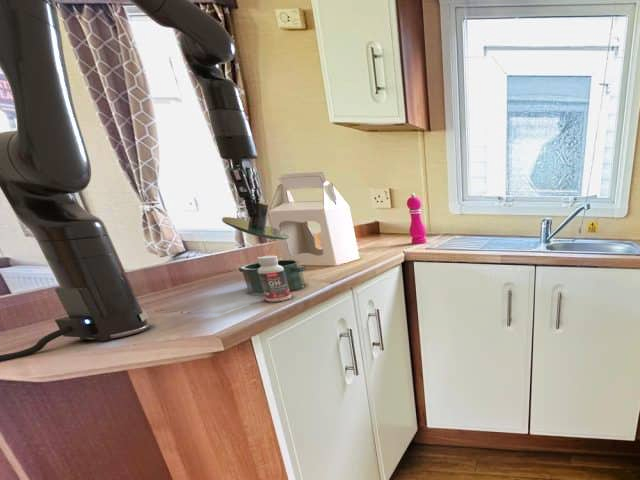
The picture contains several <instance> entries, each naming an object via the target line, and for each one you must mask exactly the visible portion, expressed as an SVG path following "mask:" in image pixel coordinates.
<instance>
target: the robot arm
mask: <svg viewBox="0 0 640 480" xmlns="http://www.w3.org/2000/svg"><path fill="white" fill-rule="evenodd" d="M55 1H56V0H0V70H1V72H2V73H3V75H4V76H5V79H6V80H7V83H8V85H9V88H10V91H11V95H12V100H13V107H14V111H15V117H16V130H10V131H9V130H8V131H2V132H0V190H1V192H2V194H3V195H4V197H5V199H6V200H7V202H8V204H9V206H10V207H11V209H12V211H13V212H14V214H15V216H16V217H17V219H18V220H19V221H20V222H21V223H22V224H23V225H24V226H25V227H26V228H27V229H28V230H29V231H30V232H31V234H32V236H33V237H34V239H35V241H36V242H37V244H38V247H39V249H40V250H41V253H42V254H43V256H44V258H45V260H46V262H47V264H48V266H49V268H50V270H51V272H52V275H54V278H55V280H56V282H57V284H58V286H56V287H55V288H54V291H55V293H56V295H57V297H58V299H59V301H60V303H61V305H62V307H63V309H64V311H65V313H66V314H67V316H64V317H59V318H56V319H54V322H55V323H56V325H57V327H58V329H57V330H55V331H53V332H51V333H49V334H47V335H45V336H43V337H41V338H40V339H39V340H38V341H37V343H35V344H34V345H33V346H30V347H28V348H26V349H22V350H19V351H14V352H10V353H5V354H0V362H4V361H9V360H15V359H18V358H19V359H20V358H21V357H22V358H23V357H27V356H30V355H32V354H34V353H35V354H36V353H38V352H40V351H42V350H43V349H44V348H45V346H46V345H47V344H49V343H50V342H51V341H53V340H55V339H57V338H59V337H66V338H79V340H80V341H96V342H97V341H98V342H106V341H109V340H113V339H119V338H123V337H128V336H131V335H135V334H139V333H141V332H144V331H146V330H148V329H149V328H150V327H151V326H150V324H149V322H148V321H147V320H148V318H149V316H148V313H147V311H146V310H144V311H143V309H142V307H141V304H140V302H139V300H138V298H137V295H136V293H135V291H134V289H133V286H132V284H131V281H130V279H129V278H128V275H127V273H126V271H125V268H124V266H123V264H122V261H121V259H120V257H119V253H117V250H116V248H115V245H114V243H113V241H112V238H111V236H110V234H109V231H108V230H107V229H108V228H107V227H106V225H105V223H104V221H103V220H102V219H101V218H99V217H97V216H96V215H93V214H92V213H90V212H88V211H87V210H86V209H84V208H83V207H82V206H81V204H80V203H79V201H78V199H77V198H76V195H75V194H77V193H80V192H83V191H84V190H86V188H87V187H88V186H89V185H90V182H91V180H92V166H91V160H90V157H89V153H88V150H87V149H88V148H87V146H86V143H85V140H84V135H83V133H82V130H81V127H80V124H79V120H78V115H77V113H76V109H75V105H74V101H73V96H72V91H71V84H70V79H69V74H68V69H67V65H66V60H65V53H64V47H63V38H62V31H61V26H60V21H59V16H58V15H59V14H58V9H57V4H56V2H55ZM128 1H129V2H130V3H131V4H133V5H134V6H135V7H136V8H138V9H139V10H140V11H141V12H142V13H144V15H146V16H147V17H148V18H149V19H151V20H152V21H153V22H154V23H156V24H157V25H159V26H160V27H164V28H168V29H173V30H176V31H178V32H179V45H180V49H181V52H182V54H183V57H184V59H185V61H186V63H187V65H188V67H189V69H190V71H191V73H192V75H193V77H194V78H195V80H196V82H197V84H198V85H199V87H200V89H201V92H202V96H203V99H204V103H205V106H206V108H207V112H208V118H209V123H210V127H211V130H212V133H213V136H214V139H215V143H216V146H217V150H218V152H219V157H220V158H221V159H222V160H228V161H231V165H232V168H231V169H229V174H230V176H231V179H232V182H233V185H234V186H235V189H236V192H237V194H238V196H239V198H241V199H242V201H244V205H245V207H246V208H245V209H246V212H247V216H248V218H249V217H251V218H254V217H259V216H260V215H259V211H258V208H257V204H256V201H260V202H261V197H262V192H261V186H260V181H259V177H258V172H257V171H256V170H255V167H253V166H252V163H251V162H250V160H256V159H258V157H259V155H258V151H257V147H256V144H255V141H254V136H253V133H252V130H251V129H252V128H251V127H250V126H251V125H250V122H249V120H248V117H247V114H246V112H245V108H244V105H243V100H242V98H241V97H242V96H241V93H240V91H239V88H238V85H237V84H236V82H234V81H233V80H231V79H229V78H225V76H224V74H223V72H222V70H221V68H220V65H224V64H227V63H230V62H231V61H233V60H234V58H235V56H236V46H235V43H234V40H233V39H232V37H231V35H230V33H229V32H228V31H227V30H226V28H225V27H224V26H223V25H222V24H221V23H220V22H219V20H217V19H215V18H214V16H212V15H211V14H210V13H208V12H206V11H205V10H203V9H202V8H201V7H199V6H197V4H195V3H194V2H192V1H191V0H128ZM255 200H256V201H255Z"/></svg>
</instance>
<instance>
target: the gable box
mask: <svg viewBox="0 0 640 480" xmlns="http://www.w3.org/2000/svg"><path fill="white" fill-rule="evenodd" d="M278 180H279V182H280V184H279V185H277V186H276V187H277V188H276V190H275V194H274V196H273V199H272V201H271V204H270V208H269V209H268V213H269V217H270V220H271V223H272V228H275V229H277V230H280V231H282V232H284V233H286V234H287V235H289V239H286V240H282V239H276V242H277V245H278V250H279V253H280V257H281V260H298V261H299V262H300V266H308V267H309V266H311V267H312V266H314V267H316V266H319V267H337V266H341V265H344V264H347V263H350V262H354V261H358V260H360V253H359V248H358V243H357V237H356V233H355V228H354V227H355V226H354V223H353V218H352V213H351V207H350V205H349V204H348V203H347V201H346V200H345V199H344V198H343V197H342V195H341V194H340V193H339V192H338V190H337V189H336V188H335V186H334V185H333V182H329V181H327V180H326V177H325V174H324V173H323V172H322V171H313V172H312V171H311V172H298V173H295V172H294V173H283V174H281V176H280V177H279V178H278ZM306 189H307V190H309V189H322V198H323V199H322V200H311V201H310V200H309V201H307V200H306V201H295V199H294V197H293V196H292V193H291V190H306ZM309 222H316V223H318V224H319V226H320V246H321V248H318V247H317V246H316V242H315V241H316V239H315V236H314V234H313V232H312V230H311V227H310V226H309Z"/></svg>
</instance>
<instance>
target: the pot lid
mask: <svg viewBox="0 0 640 480" xmlns="http://www.w3.org/2000/svg"><path fill="white" fill-rule="evenodd" d="M255 201H256V200H255ZM256 204H257V208H258V211H259V215H260V216H259V217H254V218H251V217H249V216H248V220H247V219H243V218H237V217H231V216H230V217H229V216H226V217H225V216H224V217H222V218H221V221H222V223H224V224H225V225H227V226H229V227H232V228H234V229H235V230H238V231H239V232H243V233H245V234H249V235H252V236H255V237H260V238H264V239H271V240H277V239H282V240H286V239H289V235H287V234H286V233H284V232H282V231H280V230H277V229H275V228H273V226H270V225H267V221H268V213H269V206H270V205H269V203H266V202H263V201H261V200H260V201H256Z"/></svg>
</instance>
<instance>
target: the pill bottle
mask: <svg viewBox="0 0 640 480" xmlns="http://www.w3.org/2000/svg"><path fill="white" fill-rule="evenodd" d="M278 260H279V259H278V256H277V255H263V256H258V257H257V263H259V264H260V265H261V267H260V268H258V275H259V278H260V281H261V284H262V288H263V291H264V293H263V295H264V297H265V300H266V302H271V303H272V302H273V303H275V302H282V301H287V300H289V299H291V298H292V295H291V292H290V290H289V286H288V283H287V279H286V275H285V272H284V268H283V267H282V266H280V265H278Z"/></svg>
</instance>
